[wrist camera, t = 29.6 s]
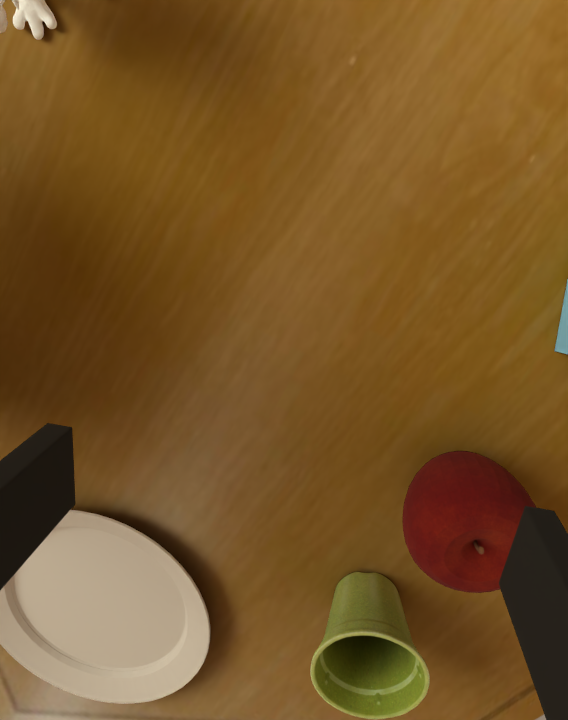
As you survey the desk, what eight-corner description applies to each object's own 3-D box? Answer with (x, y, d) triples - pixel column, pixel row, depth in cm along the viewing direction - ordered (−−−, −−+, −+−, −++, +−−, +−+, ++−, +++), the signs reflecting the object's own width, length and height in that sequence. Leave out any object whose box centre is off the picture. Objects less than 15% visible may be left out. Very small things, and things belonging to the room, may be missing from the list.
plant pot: (362, 537, 46) (363, 613, 38) (438, 596, 47) (455, 682, 39) (298, 593, 49) (287, 674, 41) (371, 646, 50) (373, 736, 42)
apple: (524, 513, 43) (570, 605, 33) (413, 535, 45) (428, 627, 36) (499, 417, 40) (542, 488, 31) (383, 445, 42) (390, 520, 33)
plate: (-46, 501, 51) (-61, 513, 50) (190, 494, 47) (183, 507, 45) (26, 682, 60) (16, 698, 58) (233, 691, 55) (229, 709, 53)
